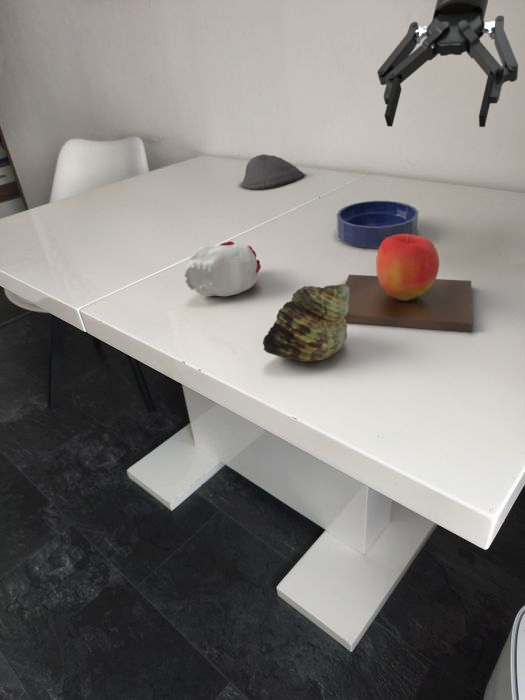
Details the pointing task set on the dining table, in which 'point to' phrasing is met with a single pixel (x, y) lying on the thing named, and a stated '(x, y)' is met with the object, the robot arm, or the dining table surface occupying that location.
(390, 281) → the apple
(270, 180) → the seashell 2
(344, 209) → the bowl
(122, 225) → the dining table surface
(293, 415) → the dining table surface
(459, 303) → the board
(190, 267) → the white rounded lumpy piece
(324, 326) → the seashell
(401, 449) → the dining table surface
